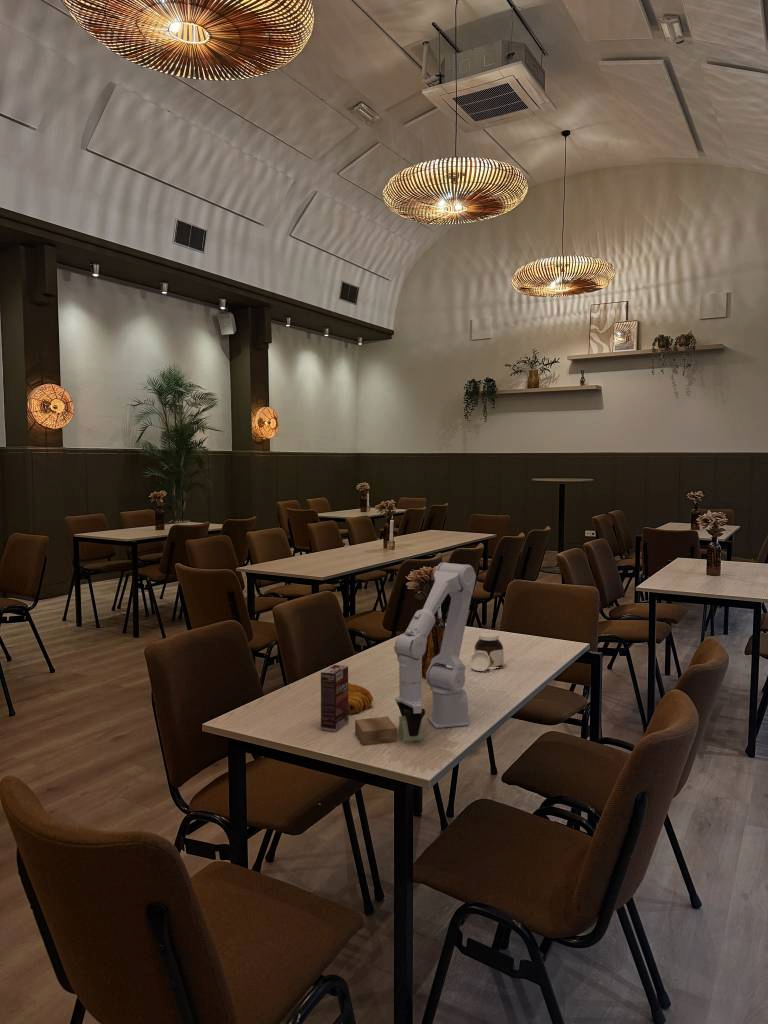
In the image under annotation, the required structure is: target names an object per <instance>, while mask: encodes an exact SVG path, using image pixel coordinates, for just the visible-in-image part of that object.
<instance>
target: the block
mask: <svg viewBox="0 0 768 1024" xmlns="http://www.w3.org/2000/svg"><path fill="white" fill-rule="evenodd" d="M354 732H355V733H354V734H355V736H356V737H357V739H358V740H359V742H360V743H361V745H362V747H365V746H374V745H382V744H391V743H392V744H393V743H397V742H398V728H397V726H396V725H395V724H394V723H393V721H392V720H391V719H390V718H389V716H382V717H381V716H379V717H372V718H371V717H368V718H360V719H355V720H354Z"/></svg>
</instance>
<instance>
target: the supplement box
mask: <svg viewBox="0 0 768 1024" xmlns="http://www.w3.org/2000/svg"><path fill="white" fill-rule="evenodd" d="M348 683H349V666H347V665H341V664H340V665H339V664H333V665H332V666H331V667H329V668H326V669H325V670H323V671H321V672H320V730H321V731H325V732H332V733H333V732H334V733H336V732H338V730H340V729H341V728H343V727H344V726H345V725H346V724H349V712H348V711H349V710H348Z"/></svg>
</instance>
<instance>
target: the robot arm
mask: <svg viewBox="0 0 768 1024" xmlns="http://www.w3.org/2000/svg"><path fill="white" fill-rule="evenodd" d="M476 578H477V575H476V572H475V569H474V567H473V566H472V565H470V564H463V563H462V564H460V563H453V562H452V563H451V562H450V563H449V562H445V561H442V562H440V563H439V564H437V567H436V569H435V571H434V573H433V581H434V582H433V585H432V587H431V589H430V592H429V594H428V596H427V598H426V601H425V603H424V605H423V608H422V609H418V610H417V611H415V613H414V615H413V616H412V619H411V621H410V622H409V624H408V627H407V628H406V630H405V632H404V633H402V634H401V635H399V636H397V638H396V641H395V644H394V645H393V651H394V652H395V654H396V660H397V662H398V668H399V669H398V673H399V674H398V675H399V676H398V677H399V678H398V679H399V682H398V683H399V695H398V696H397V697H396V696H395V697H394V700H395V703H396V705H397V706H398V709H399V711H400V716H405V717H406V720H407V725H408V732H409V735H410V736H418V733H419V728H420V724H421V720H422V721H423V718H424V716H425V714H426V709H425V708H422V704H423V703H422V702H423V696H422V657H423V656H424V654H426V650H427V643H428V636H430V633H431V631H432V629H433V627H434V625H435V624H436V618H435V615H436V613H437V611H438V610H439V608H440V607H441V605H442V603H443V601H445V599H446V597H447V596H448V595H449V597H450V604H449V609H448V612H447V619H446V622H445V628H444V633H443V636H442V641H441V644H440V645H441V646H440V649H439V650H440V651H439V653H438V654H437V655H436V656H433V658H431V660H430V665H429V666H428V668H427V669H426V674H425V680H426V681H425V682H426V683H427V685H428V686H429V687H430V691H432V698H431V699H432V716H429V717H427V719H428V720H429V721H430V723H432V725H433V726H434V728H435V729H441V728H451V727H452V728H453V727H454V728H455V727H463V726H469V725H470V723H469V699H468V694H467V692H466V690H465V689H463V688H464V686H465V683H466V673H465V672H466V666H465V664H464V662H463V661H462V660H461V659H460V653H461V650H462V649H461V648H462V644H463V640H464V634H465V629H466V624H467V619H468V615H469V610H470V605H471V600H472V596H473V594H474V588H475V584H476V580H477V579H476ZM448 666H450V667H448Z"/></svg>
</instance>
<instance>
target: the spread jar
mask: <svg viewBox="0 0 768 1024" xmlns="http://www.w3.org/2000/svg"><path fill="white" fill-rule="evenodd" d="M473 650H474V653H473V654H472V655H471V658H470V662H469V664H470V666H471V668H472V669H473V670H474V671H475V668H476V669H485V670H486V671H488V670H487V669H488V668H489V667H499V666H501V667H502V666H503V664H504V646H503V644H502V642H501V640H499V633H497V632H496V633H495V632H481V633H479V634H478V640H477V641H476V643H475V645H474V649H473ZM499 668H500V667H499ZM483 672H485V671H484V670H483Z"/></svg>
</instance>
